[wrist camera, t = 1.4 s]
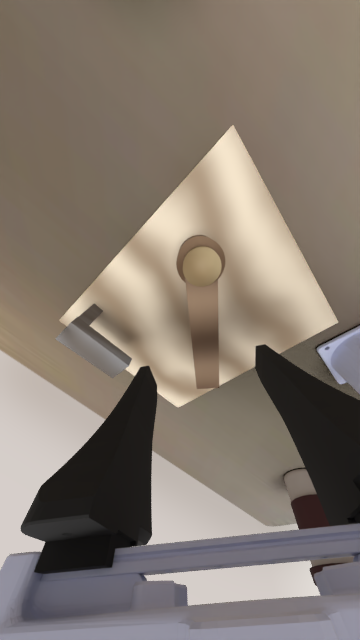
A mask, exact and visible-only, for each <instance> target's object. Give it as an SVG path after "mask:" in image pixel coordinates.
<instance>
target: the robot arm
mask: <svg viewBox="0 0 360 640" xmlns="http://www.w3.org/2000/svg"><path fill="white" fill-rule="evenodd" d="M317 352H318V353H319V355H320V356H321V358H322V359H323V361H324V362H325V364H326V366H327V367H328V369H329V370H330V372H331V373H332V375H333V376H334V378H335V379H336V381H337V382H338V383H339V384H344V383H347V382H348V383H349V384H350V385H351V386H352V387H353V388H354V389H355V390H356V391H357V392H358V393H359V394H360V326H358V327H356V328H354V329H352V330H350V331H348V332H346V333H344V334H342V335H340V336H338V337H337V338H335V339H333V340H331V341H329V342H327V343H325V344H323V345H321V346H319V347H318V348H317ZM255 369H256V371H257V373H258V376H259V378H260V380H261V382H262V384H263V386H264V388H265V389H266V391H267V393H268V394H269V396H270V398H271V400H272V401H273V403H274V405H275V406H276V408H277V410H278V411H279V413H280V415H281V417H282V418H283V420H284V422H285V424H286V426H287V428H288V430H289V432H290V434H291V437H292V439H293V441H294V443H295V445H296V447H297V450H298V452H299V454H300V456H301V458H302V461H303V463H304V465H305V467H306V470H307V472H308V474H309V477H310V479H311V481H312V484H313V486H314V488H315V491H316V493H317V496H318V498H319V500H320V503H321V505H322V508H323V510H324V513H325V515H326V518H327V520H328V522H329V524H330V526H329V527H319V528H310V529H300V530H290V531H282V532H271V533H262V534H252V535H243V536H233V537H224V538H214V539H205V540H194V541H185V542H175V543H166V544H156V545H146V544H147V543H148V541H149V540H150V538H151V536H152V522H151V461H152V439H153V430H154V422H155V414H156V406H157V383H156V381H155V379H154V376H153V374H152V371H151V369H150V367H149V366H143V367H140V368H139V370H138V372H137V373H136V375H135V377H134V379H133V380H132V382H131V384H130V385H129V387H128V389H127V390H126V392H125V393H124V395H123V396H122V398H121V399H120V401H119V402H118V404H117V405H116V407H115V408H114V410H113V411H112V412H111V414H110V415H109V416H108V418H107V419H106V420H105V421H104V423H103V424H102V425H101V426H100V428H99V429H98V430H97V431H96V432H95V433H94V435H93V436H92V437H91V438H90V439H89V440H88V441H87V442H86V443H85V444H84V446H83V447H82V448H81V449H80V450H79V451H78V452H77V453H76V454H75V455H74V456H73V457H72V458H71V459H70V460H69V461H68V462H67V463H66V464H65V465H64V466H62V467H61V468H60V469H59V470H58V471H57V472H56V473H55V474H54V475H53V476H52V477H50V478H49V479H48V480H47V481H46V482H45V483H44V484H43V485H42V486H41V487H40V489H39V491H38V493H37V495H36V497H35V499H34V501H33V503H32V505H31V507H30V509H29V511H28V513H27V515H26V517H25V519H24V521H23V523H22V525H21V531H22V533H24V534H25V535H28V536H30V537H33V538H36V539H39V540H42V541H45V545H44V548H43V550H42V552H26V553H17V554H10V555H9V556H8V557H7V558H6V560H5V562H4V564H3V567H2V569H1V571H0V640H360V400H358V399H356V398H354V397H351V396H349V395H347V394H345V393H343V392H341V391H339V390H337V389H335V388H333V387H331V386H329V385H327V384H326V383H324V382H322V381H320V380H318V379H316V378H315V377H313V376H311V375H310V374H308V373H306V372H305V371H303V370H302V369H300V368H298V367H297V366H295V365H294V364H292V363H291V362H289V361H288V360H287V359H285V358H284V357H282V356H281V355H279V354H278V353H277V352H275V351H274V350H273V349H271V348H270V347H268V346H267V345H266V344H263V345H258V346H256V349H255ZM141 545H146V546H141ZM132 546H137V547H132ZM352 556H355V557H354V558H353V562H351V563H345V564H338V565H332V566H326V567H323V570H322V571H321V572H318V573H315V574H314V579H315V582H316V584H317V587H318V589H319V592H320V595H321V596H308V597H292V598H279V599H264V600H251V601H238V602H226V603H214V604H202V605H192V606H188V605H187V587H186V586H185V585H180V584H176V583H174V581H147V580H146V578H145V577H144V575H155V574H165V573H177V572H187V571H198V570H208V569H220V568H231V567H242V566H252V565H263V564H275V563H286V562H297V561H308V560H319V559H330V558H341V557H352Z"/></svg>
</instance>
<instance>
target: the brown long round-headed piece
mask: <svg viewBox="0 0 360 640" xmlns="http://www.w3.org/2000/svg"><path fill="white" fill-rule="evenodd" d="M196 246H208V247H210V248H212V249H213V250H214V251H215V252H216V253H217V254H218V256H219V257H220V260H221V266H222V267H221V272H220V275H219V277H218V278H217V279H216V281H214V282H213V283H212V284H210V285H208V286H204V287H198V286H194V285H192V284H191V283H189V282H188V281H187V280H186V278H185V276H184V274H183V261H184V258H185V256H186V254H187V253H188V251H189V250H191V249H192V248H194V247H196ZM176 267H177V271H178V274H179V276H180V277H181V279H182V280H183V281H184V282H185V283H186V292H187V301H188V311H189V320H190V330H191V340H192V349H193V359H194V368H195V378H196V387H197V389H208V388H219V324H218V279H219V278H220V276H221V275H222V273H223V271H224V268H225V255H224V252H223V250H222V248H221V246H220V245H219V244H218V243H217V242H216V241H214V240H212V239H211V238H209V237H207V236H204V235H194V236H191V237H189V238H188V239H186V240H185V241H184V242H183V244H182V245H181V247H180V249H179V253H178V256H177V261H176Z"/></svg>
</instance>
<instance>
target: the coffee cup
mask: <svg viewBox="0 0 360 640" xmlns="http://www.w3.org/2000/svg"><path fill="white" fill-rule="evenodd" d="M284 481H285V484H286V487H287V490H288V493H289V496H290V499H291V506H292V509H293V512H294V515H295V519H296V522H297V525H298V528H299V530H300V529H310V528H319V527H329V526H330V524H329V522H328V520H327V518H326V515H325V513H324V510H323V508H322V505H321V503H320V500H319V498H318V496H317V493H316V491H315V488H314V486H313V484H312V481H311V479H310V477H309V474H308V472H307V470H306V469H297V470H293V471H290V472H288V473H287V474H286V475H285V476H284ZM354 557H355V556H352V557H341V558H330V559H319V560H310V561H311V564H312V567H311V568H310V572H311V575H312V577H313V581H314V583H315V585H316V586H317V584H316V582H315V579H314V574H315V573H318V572H321V571H322V570H323V567H326V566H332V565H338V564H345V563H351V562H353V558H354Z"/></svg>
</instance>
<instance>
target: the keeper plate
mask: <svg viewBox="0 0 360 640" xmlns="http://www.w3.org/2000/svg"><path fill="white" fill-rule="evenodd" d="M194 235H204V236H207V237H209V238H211V239H212V240H214V241H216V242H217V243H218V244H219V245H220V246H221V248H222V250H223V252H224V255H225V268H224V271H223V273H222V275H221V276H220V278H219V279H218V324H219V386H220V385H221V384H223V383H225V382H227V381H229V380H231V379H233V378H235V377H237V376H238V375H240V374H242V373H244V372H246V371H248V370H250V369H252V368H253V367H255V349H256V346H258V345H263V344H266V345H267V346H268V347H270V348H271V349H273V350H274V351H275V352H277V353H278V354H280V353H282V352H284V351H285V350H287V349H289V348H291V347H293V346H295V345H297V344H299V343H300V342H302V341H304V340H306V339H308V338H310V337H312V336H314V335H315V334H317V333H319V332H321V331H323V330H325V329H327V328H329V327H331V326H332V325H334V324H336V323H338V320H337V319H336V317H335V315H334V313H333V311H332V309H331V307H330V305H329V304H328V302H327V300H326V298H325V296H324V294H323V292H322V290H321V289H320V287H319V285H318V283H317V281H316V279H315V277H314V276H313V274H312V272H311V270H310V268H309V266H308V264H307V262H306V261H305V259H304V257H303V255H302V253H301V251H300V249H299V247H298V246H297V244H296V242H295V240H294V238H293V236H292V234H291V232H290V231H289V229H288V227H287V225H286V223H285V221H284V219H283V217H282V216H281V214H280V212H279V210H278V208H277V206H276V204H275V202H274V201H273V199H272V197H271V195H270V193H269V191H268V189H267V187H266V186H265V184H264V182H263V180H262V178H261V176H260V174H259V172H258V171H257V169H256V167H255V165H254V163H253V161H252V159H251V157H250V156H249V154H248V152H247V150H246V148H245V146H244V144H243V142H242V141H241V139H240V137H239V135H238V133H237V131H236V129H235V128H234V126H233V125H232V126H231V127H230V129H229V130H228V131H227V132H226V133H225V134H224V135H223V136H222V138H221V139H220V140H219V141H218V142H217V143H216V144H215V146H214V147H213V148H212V149H211V150H210V151H209V152H208V153H207V155H206V156H205V157H204V158H203V159H202V160H201V161H200V162H199V164H198V165H197V166H196V167H195V168H194V169H193V170H192V171H191V173H190V174H189V175H188V176H187V177H186V178H185V179H184V180H183V182H182V183H181V184H180V185H179V186H178V187H177V188H176V189H175V191H174V192H173V193H172V194H171V195H170V196H169V197H168V198H167V200H166V201H165V202H164V203H163V204H162V205H161V206H160V207H159V209H158V210H157V211H156V212H155V213H154V214H153V215H152V216H151V218H150V219H149V220H148V221H147V222H146V223H145V224H144V225H143V227H142V228H141V229H140V230H139V231H138V232H137V233H136V234H135V236H134V237H133V238H132V239H131V240H130V241H129V242H128V243H127V245H126V246H125V247H124V248H123V249H122V250H121V251H120V252H119V254H118V255H117V256H116V257H115V258H114V259H113V260H112V262H111V263H110V264H109V265H108V266H107V267H106V268H105V269H104V271H103V272H102V273H101V274H100V275H99V276H98V277H97V278H96V280H95V281H94V282H93V283H92V284H91V285H90V286H89V287H88V289H87V290H86V291H85V292H84V293H83V294H82V295H81V296H80V298H79V299H78V300H77V301H76V302H75V303H74V304H73V305H72V307H71V308H70V309H69V310H68V311H67V312H66V313H65V314H64V316H63V317H62V318H61V319H60V320H59V321H60V322H62V323H63V324H64V325H66V326H67V327H66V328H65V329H64V330H63V331H62V332H61V333H60V334H59V336H58V337H57V338H56V340H58V341H59V342H61V343H62V344H63V345H65V346H66V347H68V348H69V349H71V350H72V351H74V352H75V353H77V354H78V355H79V356H81V357H82V358H84V359H85V360H87V361H88V362H90V363H91V364H93V365H94V366H95V367H97V368H98V369H100V370H101V371H103V372H104V373H106V374H107V375H109V376H110V377H111V378H114V377H115V376H116V375H118V374H119V373H120V372H122V371H123V370H124V369H126V370H127V371H129V372H130V373H131V374H133V375H134V376H135V375H136V373H137V372H138V370H139V368H140V367H143V366H149V367H150V369H151V371H152V374H153V376H154V379H155V381H156V383H157V393H159V394H160V395H161V396H163V397H164V398H165V399H167V400H168V401H169V402H171V403H172V404H174V405H175V406H176V407H180V406H182V405H184V404H186V403H188V402H189V401H191V400H193V399H195V398H197V397H199V396H201V395H203V394H205V393H206V392H208V391H210V390H212V389H214V388H208V389H197V387H196V378H195V368H194V359H193V349H192V340H191V330H190V320H189V311H188V301H187V292H186V283H185V282H184V281H183V280H182V279H181V277H180V276H179V274H178V271H177V267H176V261H177V256H178V253H179V249H180V247H181V245H182V244H183V242H184V241H185V240H186V239H188V238H189V237H191V236H194ZM221 267H222V266H221V260H220V257H219V256H218V254H217V253H216V252H215V251H214V250H213V249H212V248H210V247H208V246H196V247H194V248H192V249H191V250H189V251H188V253H187V254H186V256H185V258H184V261H183V274H184V276H185V278H186V280H187V281H188V282H189V283H191V284H192V285H194V286H198V287H204V286H208V285H210V284H212V283H213V282H214V281H216V279H217V278H218V277H219V275H220V272H221Z"/></svg>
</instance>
